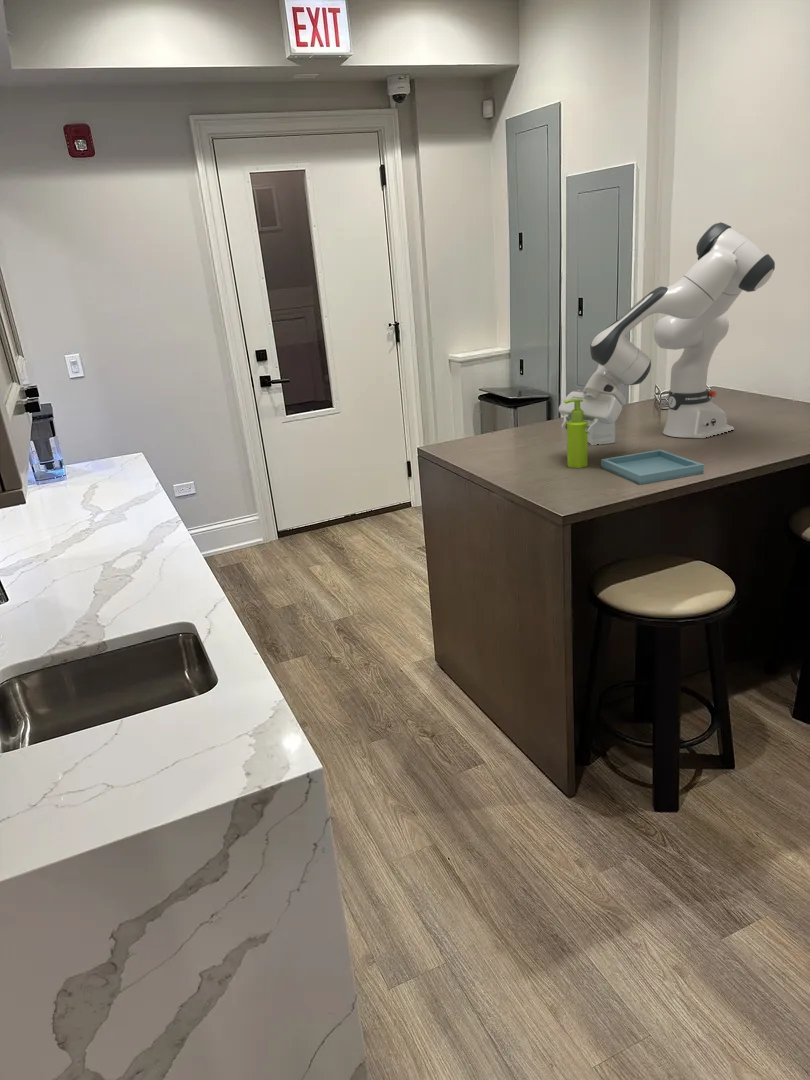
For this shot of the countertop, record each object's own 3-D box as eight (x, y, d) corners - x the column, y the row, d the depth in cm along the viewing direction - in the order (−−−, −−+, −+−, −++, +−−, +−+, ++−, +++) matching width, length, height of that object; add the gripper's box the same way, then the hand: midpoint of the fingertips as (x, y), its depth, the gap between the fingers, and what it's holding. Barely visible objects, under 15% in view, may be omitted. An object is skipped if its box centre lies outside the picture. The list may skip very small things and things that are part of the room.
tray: (660, 457, 221) (660, 449, 220) (703, 473, 203) (704, 464, 202) (600, 467, 216) (601, 459, 215) (639, 484, 198) (640, 475, 197)
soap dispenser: (561, 464, 223) (561, 398, 216) (583, 462, 223) (584, 396, 216) (567, 469, 218) (566, 401, 210) (590, 466, 218) (590, 399, 211)
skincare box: (610, 439, 246) (610, 395, 241) (615, 443, 240) (616, 398, 235) (585, 441, 246) (585, 397, 241) (590, 446, 240) (590, 400, 235)
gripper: (568, 382, 224) (545, 420, 223) (621, 388, 208) (596, 429, 206) (578, 394, 228) (556, 431, 226) (631, 401, 212) (607, 441, 210)
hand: (575, 430), depth 216 cm, fingers open, 8 cm apart
